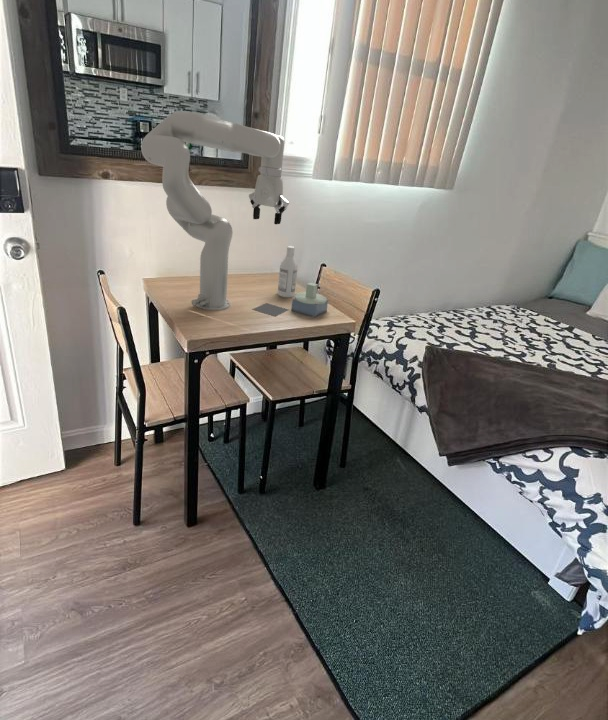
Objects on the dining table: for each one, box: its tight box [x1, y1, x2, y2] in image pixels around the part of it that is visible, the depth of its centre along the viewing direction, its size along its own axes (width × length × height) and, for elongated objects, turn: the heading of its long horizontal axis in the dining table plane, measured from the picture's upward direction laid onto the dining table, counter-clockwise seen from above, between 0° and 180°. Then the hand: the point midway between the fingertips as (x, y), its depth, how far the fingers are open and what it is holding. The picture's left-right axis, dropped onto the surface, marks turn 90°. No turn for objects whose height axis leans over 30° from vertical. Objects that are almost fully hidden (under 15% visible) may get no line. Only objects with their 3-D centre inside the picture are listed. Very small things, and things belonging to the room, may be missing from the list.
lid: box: [294, 282, 328, 305], centre depth 168 cm, size 12×12×6 cm
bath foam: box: [277, 245, 298, 298], centre depth 181 cm, size 7×7×20 cm
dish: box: [291, 297, 329, 318], centre depth 170 cm, size 10×10×5 cm
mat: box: [251, 302, 290, 317], centre depth 167 cm, size 10×10×1 cm
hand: (266, 221), depth 170 cm, fingers open, 9 cm apart
